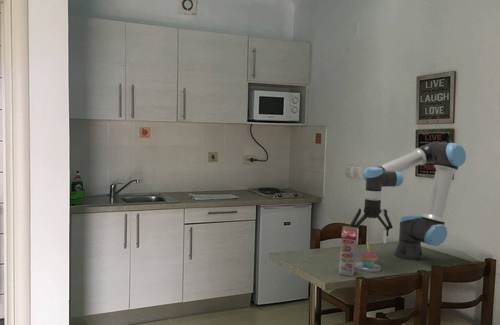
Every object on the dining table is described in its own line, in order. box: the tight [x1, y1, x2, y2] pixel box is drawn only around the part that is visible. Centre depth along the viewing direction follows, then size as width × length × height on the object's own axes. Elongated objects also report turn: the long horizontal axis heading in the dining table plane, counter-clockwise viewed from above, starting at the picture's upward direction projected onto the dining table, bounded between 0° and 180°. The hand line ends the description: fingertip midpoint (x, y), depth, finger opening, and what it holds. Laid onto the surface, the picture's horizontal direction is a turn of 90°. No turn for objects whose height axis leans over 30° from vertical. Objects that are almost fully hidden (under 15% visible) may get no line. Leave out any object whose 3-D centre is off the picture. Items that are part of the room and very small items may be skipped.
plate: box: [354, 261, 382, 273], centre depth 227 cm, size 13×13×1 cm
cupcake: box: [359, 241, 379, 267], centre depth 226 cm, size 9×8×12 cm
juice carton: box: [338, 225, 358, 277], centre depth 217 cm, size 7×7×22 cm
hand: (370, 241), depth 226 cm, fingers open, 13 cm apart
